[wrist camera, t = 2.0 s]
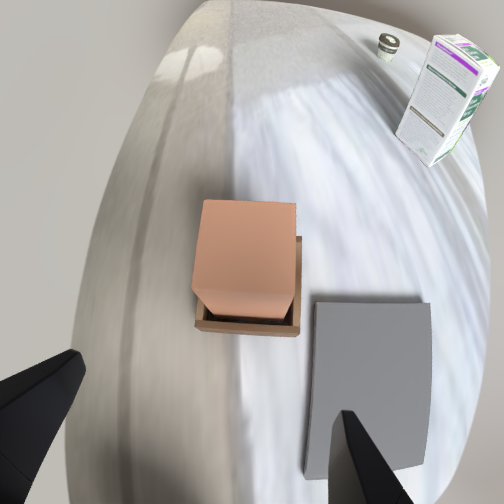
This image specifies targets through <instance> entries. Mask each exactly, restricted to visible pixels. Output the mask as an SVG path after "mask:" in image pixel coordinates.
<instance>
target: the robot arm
mask: <svg viewBox="0 0 504 504" xmlns="http://www.w3.org/2000/svg"><path fill="white" fill-rule="evenodd" d="M85 372H86V366H85V364H84V361H83V358H82V355H81V353H80V352H79V351H76V350H74V349H69V350H67V351H64V352H62V353H60V354H58V355H56V356H54V357H52V358H49V359H47V360H45V361H43V362H41V363H39V364H36V365H34V366H32V367H30V368H28V369H26V370H24V371H21V372H19V373H17V374H15V375H13V376H11V377H8V378H6V379H4V380H2V381H0V504H24V502H25V499H26V497H27V495H28V493H29V490H30V488H31V486H32V483H33V481H34V479H35V477H36V475H37V472H38V470H39V468H40V466H41V464H42V462H43V460H44V458H45V456H46V454H47V452H48V450H49V447H50V446H51V443H52V441H53V439H54V438H55V436H56V434H57V432H58V430H59V428H60V426H61V424H62V422H63V420H64V419H65V417H66V415H67V413H68V411H69V409H70V407H71V405H72V403H73V401H74V399H75V396H76V394H77V391H78V389H79V387H80V384H81V382H82V380H83V377H84V375H85ZM328 504H414V503H413V502H412V500H411V499H410V497H409V496H408V494H407V493H406V491H405V490H404V489H403V487H402V485H401V483H400V482H399V480H398V479H397V477H396V476H395V474H394V473H393V471H392V470H391V468H390V466H389V465H388V463H387V462H386V460H385V459H384V457H383V456H382V454H381V452H380V451H379V449H378V448H377V446H376V445H375V443H374V442H373V440H372V439H371V437H370V435H369V434H368V432H367V431H366V429H365V428H364V426H363V425H362V423H361V421H360V420H359V418H358V417H357V415H356V414H355V412H354V411H352V410H341V411H340V412H339V413H338V415H337V417H336V419H335V421H334V423H333V425H332V431H331V443H330V454H329V464H328Z"/></svg>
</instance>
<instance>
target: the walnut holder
mask: <svg viewBox="0 0 504 504" xmlns="http://www.w3.org/2000/svg"><path fill="white" fill-rule="evenodd" d="M301 272H302V236H296V271H295V296H294V298H293V300H292V302H291V304H290V326H279V325H259V324H243V323H229V322H217V321H209V314H210V310H209V309H208V308H207V307H206V305H205V304H204V303H203V302H202V301H201V300H200V298H199V297H198V299H197V308H196V317H195V327H196V328H197V329H199V330H201V331H207V332H218V333H230V334H244V335H259V336H279V337H296V336H298V335H299V334H300V316H301Z"/></svg>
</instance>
